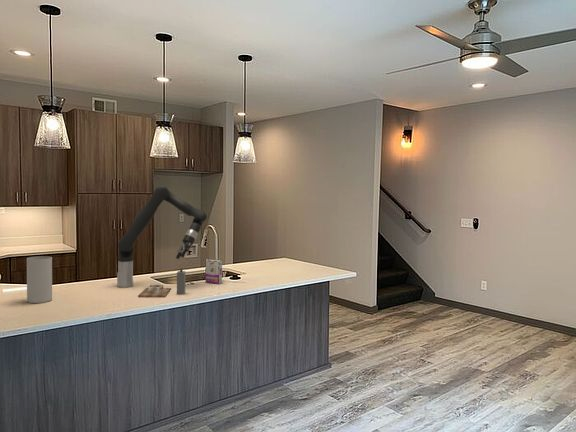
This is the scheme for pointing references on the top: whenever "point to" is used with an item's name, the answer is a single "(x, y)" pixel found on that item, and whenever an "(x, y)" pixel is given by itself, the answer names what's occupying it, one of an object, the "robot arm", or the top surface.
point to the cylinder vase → (39, 279)
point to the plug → (181, 281)
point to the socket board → (155, 291)
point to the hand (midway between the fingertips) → (179, 257)
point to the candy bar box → (213, 271)
